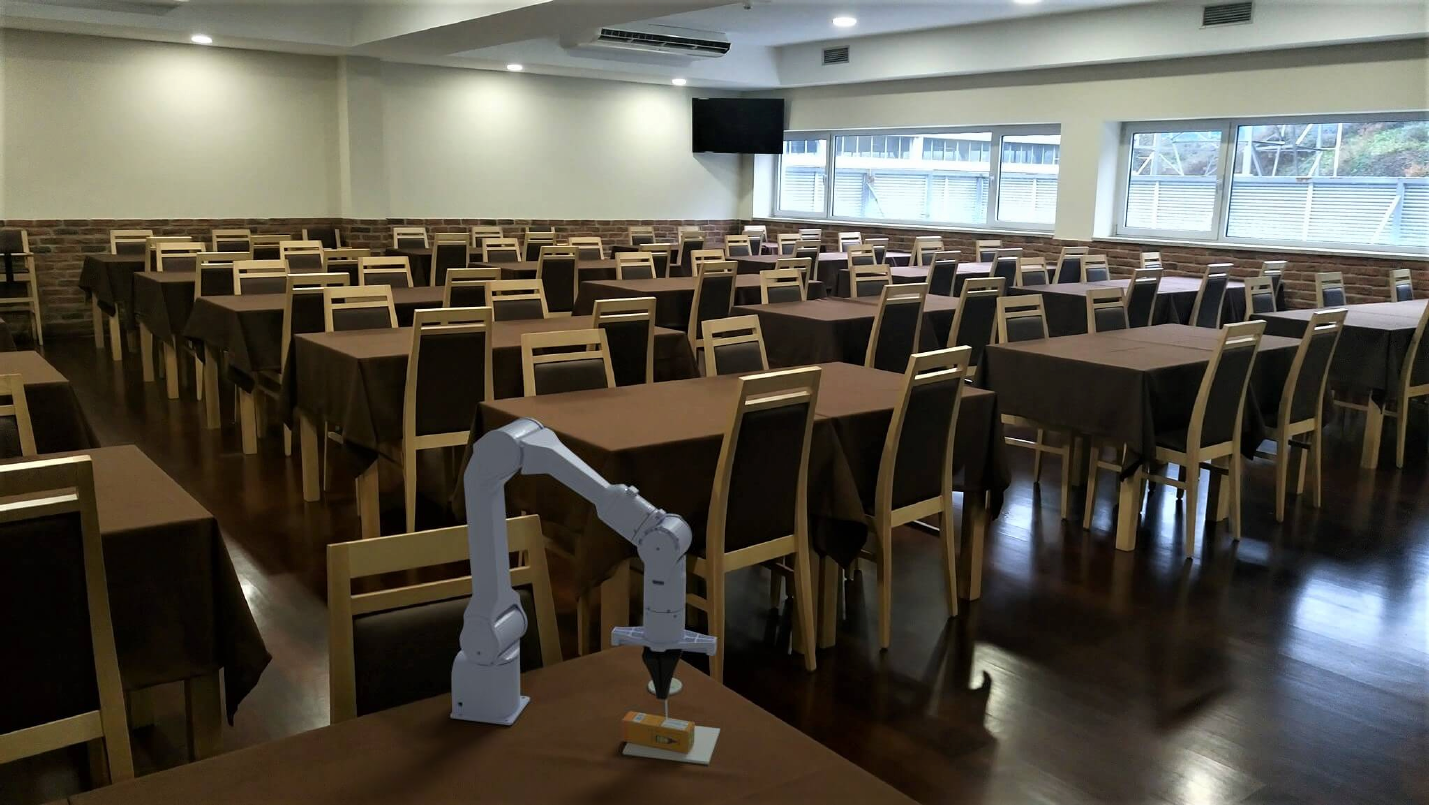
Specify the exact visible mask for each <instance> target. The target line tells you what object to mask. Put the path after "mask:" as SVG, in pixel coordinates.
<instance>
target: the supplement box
mask: <svg viewBox="0 0 1429 805" xmlns="http://www.w3.org/2000/svg"><path fill="white" fill-rule="evenodd" d="M695 726H696V724H695V722H694V721H688V720H684V719H676V718H672V717H668V718H667V717H666V716H662V715H655V714H649V713H644V712H643V713H642V712H637V711H632V710H631V711H630V710H629V711H628V712H627V713H626V714H625V716H624V717H623V718H622V720H621V736H620V737H621V739H620V740H621V741H622V742H626V743H627V742H630V743H635V744H640V745H646V746H651V747H656V748H662V749H667V750H672V751H677V752H682V753H688V752H689V750H690V749H691V747H692V746H693V744H694V733H695Z"/></svg>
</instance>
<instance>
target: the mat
mask: <svg viewBox="0 0 1429 805" xmlns="http://www.w3.org/2000/svg"><path fill="white" fill-rule="evenodd" d="M720 732H721V728H717V727H710V726H700V725H699V726H698V725H695V733H694V744H693V746H692V747H691V749H690V750H689V752H688V753H682V752H677V751H672V750H667V749H662V748H656V747H651V746H646V745H640V744H635V743H630V742H626V745H625V747H624V748H623V751H622V755H629V756H635V757H644V758H645V757H646V758H651V759H652V758H654V759H660V760H661V759H662V760H669V761H677V762H684V763H685V762H686V763H692V764H694V763H695V764H701V765H710V762H711V759H712V755H713V752H714V750H715V747H716V743H717V741H718V739H719V735H720Z"/></svg>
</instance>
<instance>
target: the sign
mask: <svg viewBox="0 0 1429 805" xmlns="http://www.w3.org/2000/svg"><path fill="white" fill-rule="evenodd" d="M682 689H683V684H682V682H681V681H680V680H679V679H677V678H675V677H672V681H671V685H670V691H669V695H668V697H670V696H674V695H676V694H679V693H680V692H681V691H682ZM648 691H649V692H650V693H652V694H654V695H656V692H655V687H654V684H653V681H652V680H650V681H649V682H648ZM664 711H665V712H664V713H665V717H667V718H669V717H668V714H669V712H668V698H667V699H666V700H664Z"/></svg>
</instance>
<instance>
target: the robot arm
mask: <svg viewBox="0 0 1429 805" xmlns="http://www.w3.org/2000/svg"><path fill="white" fill-rule="evenodd" d="M472 449H473V450H472V451H473V453H472V455H471V457H470V460H469V461H468V464H467V466H466V468H465V471H464V474H463V488H464V499H465V510H466V511H465V512H466V522H467V524H466V525H467V536H468V548H469V550H468V551H469V563H470V574H471V587H472V594H471V595H472V596H471V598H470V600H469V602H468V604H467V606H466V609H465V610H464V613H463V627H462V630H461V632H460V635H459V646H460V648H461V650H460V651H459V652H458V653H457V655H456V656H455V659H454V661H453V664H452V670H451V703H452V708H451V709H452V711H451V713H450V719H457V720H464V721H472V722H479V723H489V724H497V725H507V726H511V725H513V724H514V723H515V721H516V720H517V718H518V717H519V716H520V714H521V713H522V712H523V710H524V709H525V707H526V706H527V705H528V703H529V702H530V701H531V698H530V696H525V695H521V669H520V668H521V667H520V666H521V665H520V663H521V662H520V661H521V660H520V658H521V657H520V646H521V645H520V644H521V643H520V642H521V640H520V638H521V637H523V636H524V634H526V631H527V630H528V618H527V614H526V612H525V611H524V608H523V607H522V604H521V597H520V594H519V592H517V591H515V590H514V589H513V588H512V584H511V583H512V582H511V571H510V570H511V569H510V568H511V567H510V557H509V556H510V555H509V541H508V530H507V529H508V528H507V527H508V526H507V515H506V514H507V513H506V502H505V489H504V488H505V484H506V482H508V481H509V480H510V479H511V478H512V477H513V476H514V475H516V473H517V472H518V471H519V469H520V470H521V471H520V474H521V475H536V474H540V475H541V474H549V475H550V476H552V477H553V478H555V479H556V480H558V481H559V482H560V483H562V484H564V485H565V486H566V487H568V488H569V489H571V490H573V491H574V492H576V494H579V495H580V496H582V497H583V498H585V499H586V500H588V501H589V502H590V503H592V504H594V505H595V508H596V514H597V517H598V519H600V520H601V521H602V522H603V523H605V524H606V525H607V526H609V527H610V528H611V529H613V530H614V531H615V532H617V533H618V534H619V535H621V536H622V537H624V538H625V539H626V540H627V541H629V542H630V543H631V544H632V545H634V546H636V547H637V553H638V556H639V558H640V560H641V561H642V562H643V564H644V572H643V624H642V626H626V627H625V626H623V627H622V626H615V627H614V628H613V629H612V631H611V632H610V633H611V634H610V637H611V639H610V641H611V642H610V644H611V646H616V647H617V646H618V647H619V646H620V645H627V646H636V647H638V646H639V647H643V650H642V653H641V660H642V662H643V664H644V665H645V667H646V668H647V671H648V673H649V675H650V678H651V681H653V684H654V687H655V692H656V694H655V697H656V699H657V700H664V701H665V700H666V699H667V700H668V697H669V696H670V695H669V691H670V685H671V681H672V678H674V674H675V671H676V668H677V666H678V663H679V661H680V659H681V658H682V655H683V653H684V651H685V652H694V653H704V654H706V655H707V656H711V657H712V656H715V654H716V652H717V643H718V637H717V636H710V635H705V634H701V633H699V632H694V631H691V630H686V629H685V628H686V626H685V624H686V598H687V597H686V594H687V593H686V585H687V572H686V571H687V570H686V568H687V567H686V566H687V564H686V563H687V561H686V560H687V555H686V554H685V552H687V551H688V549H689V547H690V546H691V544H692V539H693V533H692V530H691V527H690V525H689V524H688V523H687V521H685V520H684V518H683V517H682V516H681V515H679V514H675V513H666V511H665V510H663V509H662V508H660V509H658V508H657V507H655V506H654V505H652V504H651V503H650V502H649V501H647V500H646V499H645V498H644V497H642V496H640V494H639V492H640V490H639V489H637V488H636V487H635V486H634V485H631V486H629V487H628V486H627V485H626V484H624V483H620V484H610V483H609V482H608V481H607V480H606V479H604V478H603V477H602V476H601V475H600V474H599V473H598V472H596V471H595V470H594V469H593V468H591V466H589V465H588V464H587V463H586V462H584V461H583V460H582V459H581V458H580V457H579V456H577V455H576V454H575V453H574V452H572V451H571V450H570V449H569V448H568V447H566V446H565V445H564V444H563V443H562V442H561V440H559V438H558V436H557V435H556V433H555V432H554V431H553V430H552V429H550V428H548V427H544V425H543V424H542V423H541V422H539V421H538V420H536V419H535V418H532V417H528V416H527V417H520V418H517V419H516V420H514V421H512V422H511V423H509V424H506V425H504V426H502V427H500V428H497V429H493V430H490V431H488V432H486V433H485V434H484V435H483V436H482V437H480V438H479V439H478V440H477V441H476V442H475V443H473V445H472ZM668 695H669V696H668Z"/></svg>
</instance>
